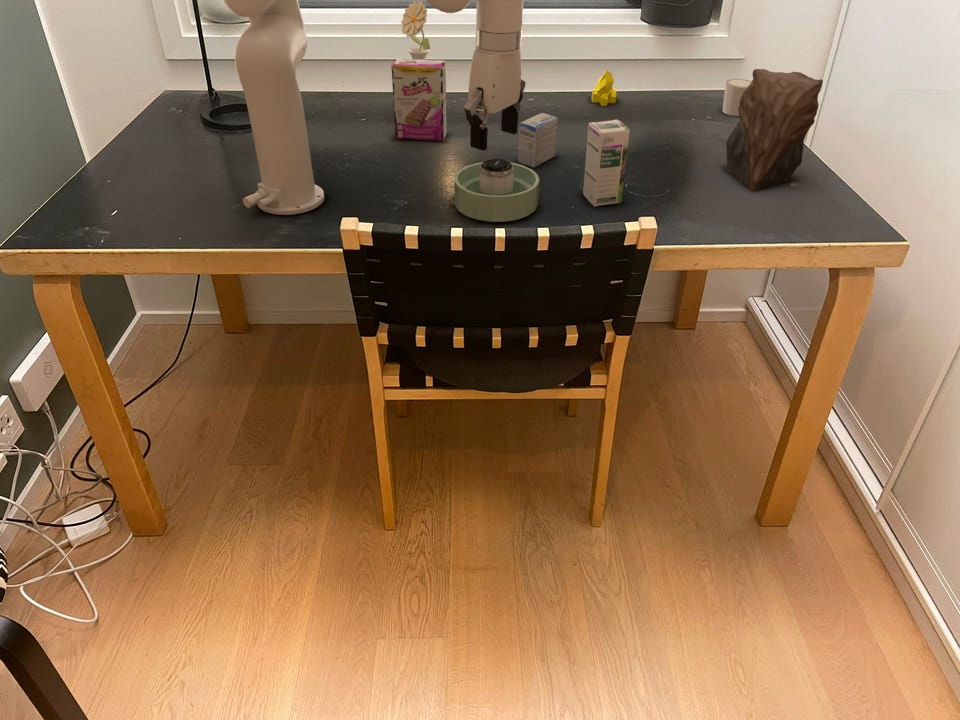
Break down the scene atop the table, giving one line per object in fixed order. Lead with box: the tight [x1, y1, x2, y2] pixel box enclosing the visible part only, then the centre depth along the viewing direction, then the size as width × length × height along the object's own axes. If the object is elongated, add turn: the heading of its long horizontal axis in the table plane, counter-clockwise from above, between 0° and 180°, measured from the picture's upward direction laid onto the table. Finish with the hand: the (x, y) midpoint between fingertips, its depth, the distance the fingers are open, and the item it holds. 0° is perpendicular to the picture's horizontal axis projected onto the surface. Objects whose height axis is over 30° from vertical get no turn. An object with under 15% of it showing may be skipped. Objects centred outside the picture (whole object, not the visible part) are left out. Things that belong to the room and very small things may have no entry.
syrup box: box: [582, 119, 631, 208], centre depth 139 cm, size 6×6×14 cm
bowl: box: [453, 161, 540, 223], centre depth 140 cm, size 16×16×6 cm
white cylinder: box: [722, 78, 752, 117], centre depth 180 cm, size 7×7×7 cm
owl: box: [725, 68, 824, 192], centre depth 147 cm, size 13×13×20 cm
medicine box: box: [517, 112, 559, 168], centre depth 156 cm, size 8×4×9 cm, turn 141°
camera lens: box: [479, 158, 514, 195], centre depth 139 cm, size 6×6×8 cm
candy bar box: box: [391, 58, 448, 142], centre depth 164 cm, size 11×5×16 cm, turn 84°
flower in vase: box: [400, 0, 431, 60], centre depth 175 cm, size 13×11×25 cm
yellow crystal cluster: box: [591, 69, 617, 107], centre depth 186 cm, size 6×8×8 cm
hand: (494, 140), depth 134 cm, fingers open, 9 cm apart
